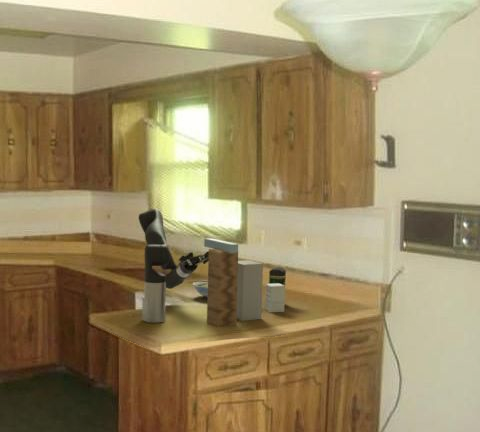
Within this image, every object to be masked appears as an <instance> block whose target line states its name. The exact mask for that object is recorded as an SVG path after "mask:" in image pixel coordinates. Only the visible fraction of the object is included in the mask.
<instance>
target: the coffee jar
mask: <svg viewBox="0 0 480 432" xmlns="http://www.w3.org/2000/svg"><path fill="white" fill-rule="evenodd" d="M268 272H269V273H268V284H276V283H280V284H282V285H284V286H285V287H286V274H287V273H286V272H287V271H286V269H285V268H284V267H280V266H279V267H273V268H272V269H269V271H268Z"/></svg>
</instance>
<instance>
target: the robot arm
mask: <svg viewBox="0 0 480 432" xmlns="http://www.w3.org/2000/svg"><path fill="white" fill-rule="evenodd" d="M138 221H139V224H140V226H141V229H142V231H143V233H144V237H145V242H146V246H145V247H144V295H143V298H142V309H141V310H142V311H141V314H142V315H141V320H142V321H144V322H146V323H154V324H155V323H163V322H166V295H167V293H166V292H167V291H166V289H171V290H172V289H174V288H175V287H176V288H177V286H179V285H181V284H183V283H184V281H185V279H187V277H189V276H190V275H191V274H193V272H195V271H197V268H198V266H199V265H200V264H203V265H206V264H207V263H208V260H209V250H208V251H206V252H205V253H204V254H199V255H197V256H196V255H195V256H194V253H193V251H190V252H189V253H188V254H186V255H181V256H180V257H179V259H178V264H176V263H175V260H174V258H173V256H172V255H173V254H172V253H171V251H170V248H169V245H168V243H167V237H166V232H165V229H164V218H163V215H162V213H161V211H160V210H159V209H158V208H152V209H149V210H146V211H144V212H141V213H139V214H138ZM153 267H160V268H161V270H163V271H167V270H170V271H169V272H168V273H167V274H164V273H161V272H158V271H156V270H155V269H154V268H153Z"/></svg>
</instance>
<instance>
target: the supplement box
mask: <svg viewBox="0 0 480 432" xmlns="http://www.w3.org/2000/svg"><path fill="white" fill-rule="evenodd" d="M264 295H265V297H264V299H265V300H264V310H266V311H267V312H269V313H284V312H285V301H286V300H285V299H286V285H285V286H284V285H282V284H280V283H276V284H269V283H265V293H264Z"/></svg>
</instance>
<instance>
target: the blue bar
mask: <svg viewBox="0 0 480 432" xmlns="http://www.w3.org/2000/svg"><path fill="white" fill-rule="evenodd" d="M203 244H204V245H203V246H204V247H206V248H208V249H217V250H221V251H225V252H230V253H238V254H239V244H238V243H234V242H229V241H225V240H221V239H216V238H204V242H203Z"/></svg>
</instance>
